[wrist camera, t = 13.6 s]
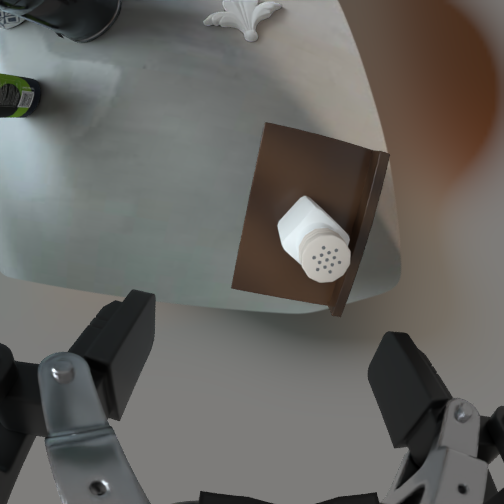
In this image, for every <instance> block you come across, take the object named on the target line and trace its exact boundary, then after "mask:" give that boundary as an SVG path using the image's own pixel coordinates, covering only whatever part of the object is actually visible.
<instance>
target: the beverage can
mask: <svg viewBox="0 0 504 504" xmlns="http://www.w3.org/2000/svg"><path fill="white" fill-rule="evenodd" d="M40 95H41V91H40V86H39V84H38V82H37V81H36V80H34V79H30V78H25V77H19V76H13V75H6V74H0V118H3V117H19V118H23V117H27V116H28V115H30V114H31V113H32V112H33V111H34V110H35V108H36V107H37V105H38V103H39V100H40Z"/></svg>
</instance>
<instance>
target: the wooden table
mask: <svg viewBox="0 0 504 504" xmlns="http://www.w3.org/2000/svg"><path fill="white" fill-rule="evenodd" d="M389 156H390V154H388V153H385V152H382V151H373V150H370V149H367V148H363V147H360V146H357V145H354V144H350V143H347V142H344V141H340V140H337V139H333V138H330V137H326V136H322V135H318V134H315V133H311V132H307V131H303V130H299V129H294V128H290V127H286V126H281V125H277V124H272V123H267V122H265V125H264V128H263V133H262V138H261V143H260V148H259V153H258V158H257V162H256V167H255V172H254V177H253V182H252V187H251V191H250V196H249V201H248V206H247V211H246V216H245V221H244V226H243V231H242V236H241V241H240V245H239V250H238V255H237V260H236V265H235V271H234V276H233V281H232V287H231V288H232V289H237V290H243V291H248V292H253V293H258V294H264V295H269V296H275V297H280V298H286V299H291V300H297V301H303V302H309V303H315V304H321V305H327V306H328V307H329V310H330V312H331V315H332V316H338V317H341V315H342V312H343V310H344V307H345V305H346V302H347V299H348V296H349V294H350V291H351V288H352V285H353V282H354V279H355V276H356V273H357V271H358V268H359V265H360V261H361V258H362V255H363V252H364V249H365V246H366V243H367V239H368V236H369V233H370V229H371V226H372V223H373V219H374V216H375V212H376V208H377V205H378V201H379V197H380V194H381V190H382V186H383V182H384V178H385V174H386V170H387V165H388V161H389ZM303 196H308V197H310V198H311V199H312V200H313V201H314V202H315V203H317V204H318V205H319V206H320V207H321V208H322V209H323V210H324V211H325V212H326V213H327V214H328V215H329V216H330V217H331V218H332V219H333V220H334V221H335V222H336V223H337V224H338V225H339V226H340V227H341V228H342V229H343V230H344V231H345V232H346V233H347V234H348V236H349V239H350V241H349V244H348V248H349V250H350V251H351V256H350V265H349V267H348V268H347V270H346V272H345V273H344V275H343V276H341V277H340V278H338V279H336V280H335V281H333V282H323V283H319V282H317V281H315V280H313V279H311V278H309V277H308V276H307V274H306V272H305V271H304V269H303V268H302V265H301V264H299V263H298V262H297V261H296V260H295V259H294V258H293V257H291V256H290V255H289V254H288V253H287V252H286V251H285V250H284V248H283V246H282V244H281V240H280V235H279V231H278V227H277V225H278V222H279V221H280V219H281V218H282V217H283V216H284V215H285V214H286V213H287V212H288V211H289V210H290V209H291V207H292V206H293V205H294V204H295V203H296V202H297V201H298V200H299V199H300V198H301V197H303Z"/></svg>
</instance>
